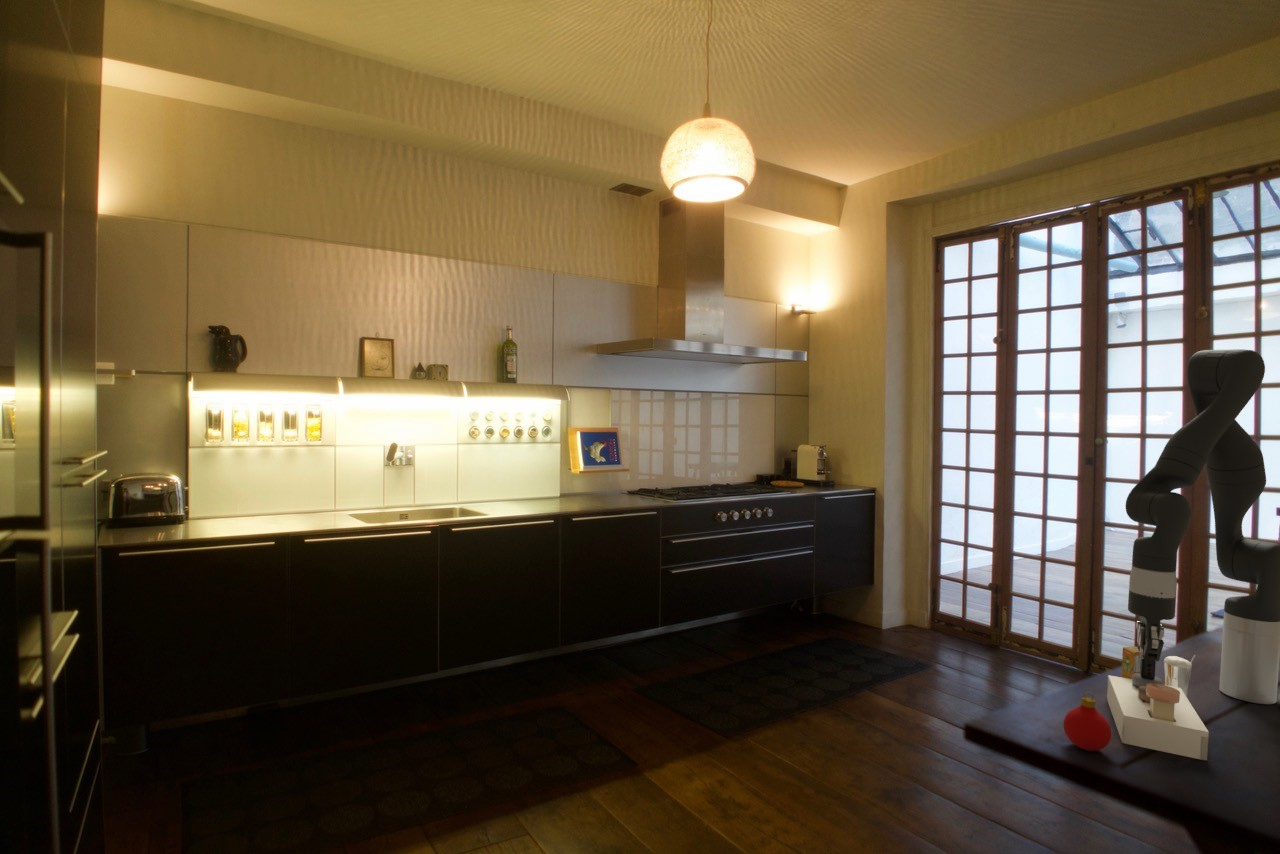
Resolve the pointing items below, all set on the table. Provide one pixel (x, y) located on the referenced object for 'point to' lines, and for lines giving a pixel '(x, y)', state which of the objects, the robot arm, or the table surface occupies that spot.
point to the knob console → (1156, 722)
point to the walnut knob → (1143, 694)
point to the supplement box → (1130, 662)
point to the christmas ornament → (1087, 726)
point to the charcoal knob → (1143, 680)
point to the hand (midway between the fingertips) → (1147, 678)
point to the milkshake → (1177, 672)
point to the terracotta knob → (1162, 701)
